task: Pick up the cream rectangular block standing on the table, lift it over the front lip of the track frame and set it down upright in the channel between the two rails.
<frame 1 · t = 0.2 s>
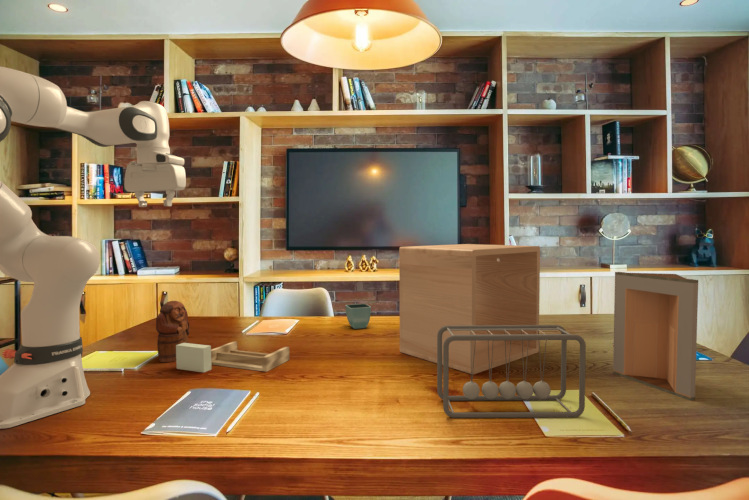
hand: (155, 206, 131), 47 cm above the table, tool pointing down, fingers open, 8 cm apart
cabinet: (661, 383, 114), on the table
flower pot: (358, 328, 180), on the table
storage cube: (469, 353, 144), on the table
wooden figurine: (175, 358, 140), on the table
cream rectangular block: (194, 369, 128), on the table
newton's cradle: (507, 409, 99), on the table
track frame: (249, 361, 135), on the table
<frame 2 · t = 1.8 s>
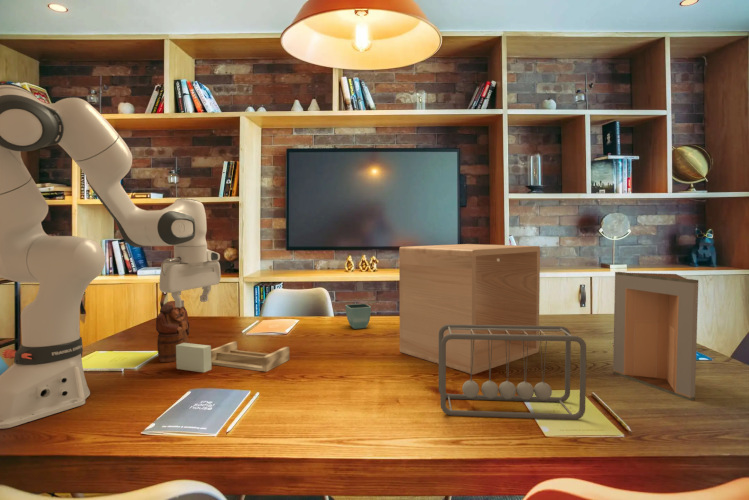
hand: (192, 304, 127), 19 cm above the table, tool pointing down, fingers open, 8 cm apart
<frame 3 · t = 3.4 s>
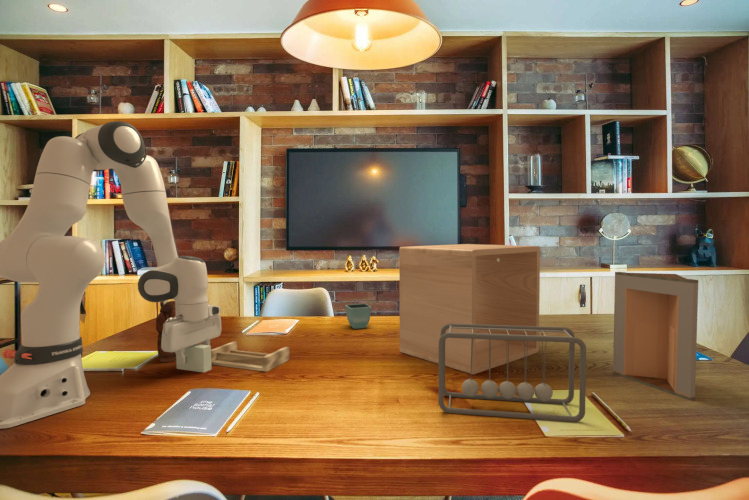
hand: (193, 359, 128), 3 cm above the table, tool pointing down, fingers open, 7 cm apart
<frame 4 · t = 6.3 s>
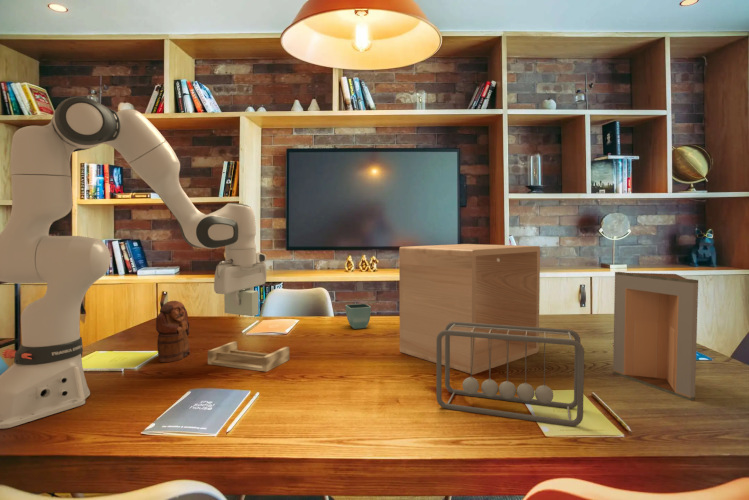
hand: (242, 303, 133), 18 cm above the table, tool pointing down, fingers closed on cream rectangular block, 3 cm apart
cream rectangular block: (241, 313, 133), point 15 cm above the table, touching gripper
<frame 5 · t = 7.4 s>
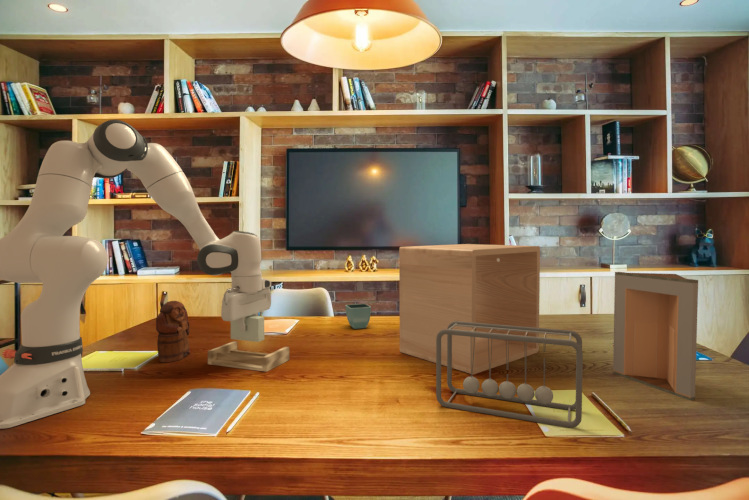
hand: (248, 329, 135), 10 cm above the table, tool pointing down, fingers closed on cream rectangular block, 3 cm apart
cream rectangular block: (247, 339, 135), point 7 cm above the table, touching gripper
when the fingers open (5 cm above the table, at t = 8.5 s): cream rectangular block drops 1 cm, resting on track frame.
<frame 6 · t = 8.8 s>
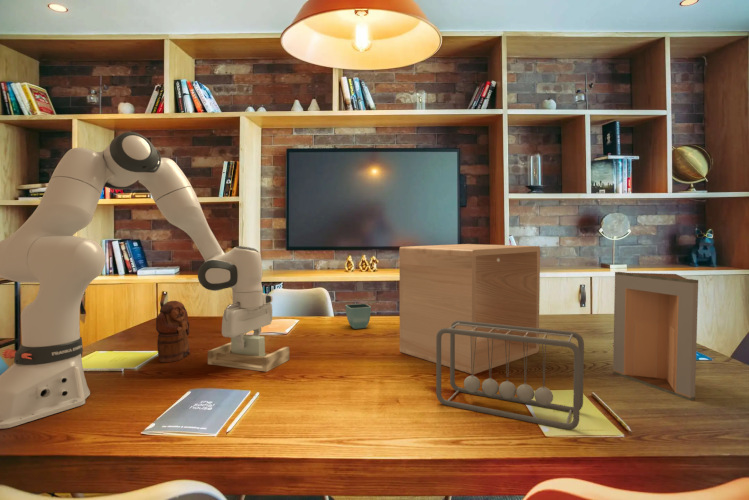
hand: (248, 345, 134), 5 cm above the table, tool pointing down, fingers open, 5 cm apart
cream rectangular block: (248, 359, 135), point 1 cm above the table, touching track frame
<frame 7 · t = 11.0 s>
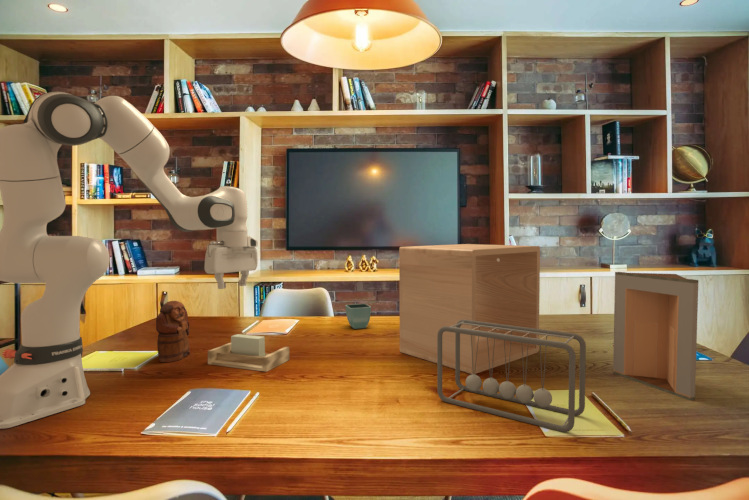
hand: (232, 287, 133), 23 cm above the table, tool pointing down, fingers open, 8 cm apart
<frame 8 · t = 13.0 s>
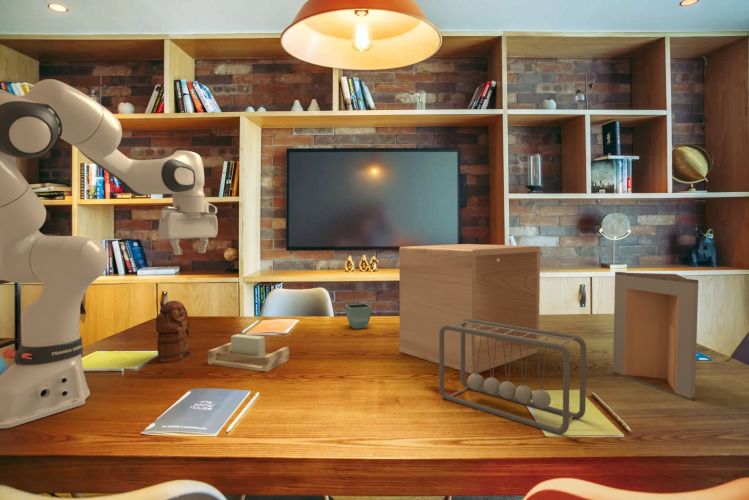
hand: (190, 253, 132), 33 cm above the table, tool pointing down, fingers open, 8 cm apart
at the end: cream rectangular block inside the target area on the track frame (0.3 cm from its centre), point 0.8 cm above the track frame's base; cream rectangular block tilted 0°; the gripper is holding nothing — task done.
